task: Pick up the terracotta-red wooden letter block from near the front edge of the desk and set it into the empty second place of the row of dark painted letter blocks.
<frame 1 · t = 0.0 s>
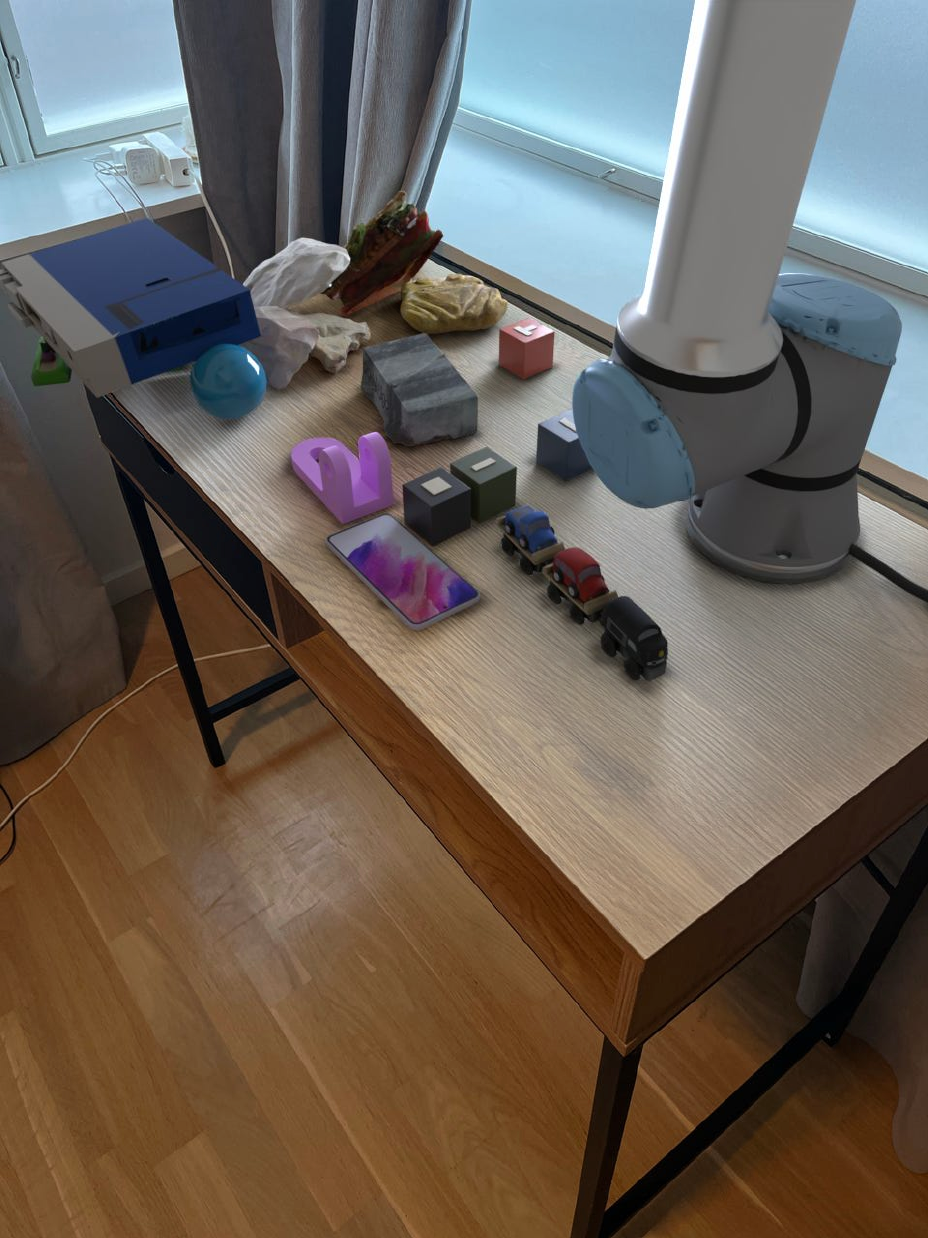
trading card: (325, 279, 130), on the table
block 3: (483, 503, 93), on the table
sandwich: (401, 281, 123), point 3 cm above the table, touching fragment
ball: (196, 401, 104), point 2 cm above the table, touching electronic device
electronic device: (170, 345, 98), point 9 cm above the table, touching ball, toy garden set
bracket: (337, 483, 96), on the table
stone: (333, 348, 116), on the table, touching fragment, stone tool
sculpture: (462, 325, 116), point 2 cm above the table
block 4: (437, 525, 91), on the table
stone block: (414, 414, 106), on the table
block 1: (566, 463, 98), on the table
stone tool: (307, 360, 108), point 3 cm above the table, touching stone, toy garden set
toy train: (573, 605, 83), on the table
letter block: (525, 365, 113), on the table
toy garden set: (140, 339, 119), on the table, touching electronic device, stone tool
fragment: (304, 292, 121), point 3 cm above the table, touching sandwich, stone
smartphone: (400, 574, 86), on the table
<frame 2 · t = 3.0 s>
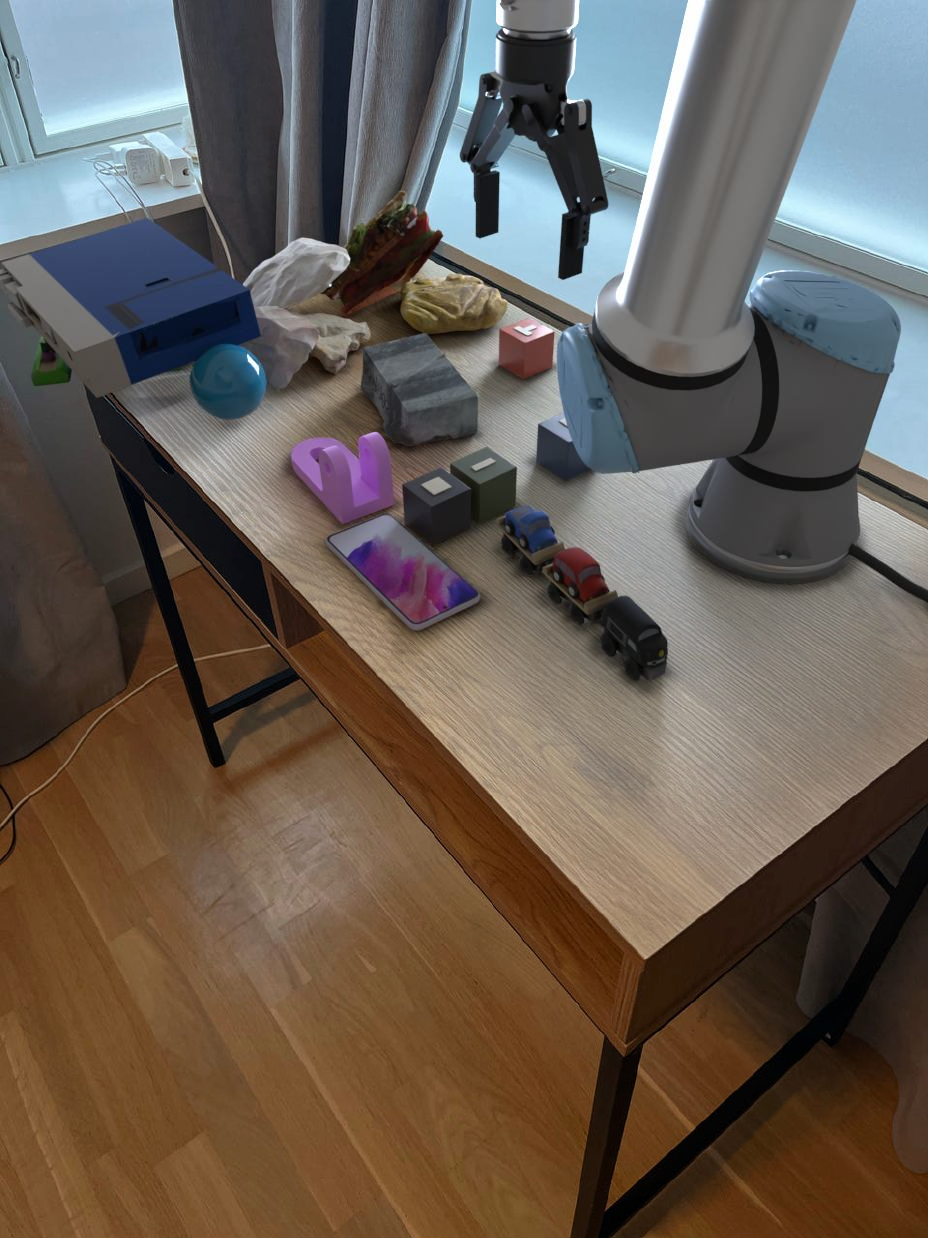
hand: (526, 254, 104), 13 cm above the table, tool pointing down, fingers open, 13 cm apart
stone tool: (307, 360, 108), point 3 cm above the table, touching stone
toy garden set: (140, 339, 119), on the table, touching electronic device
everything else where it was.
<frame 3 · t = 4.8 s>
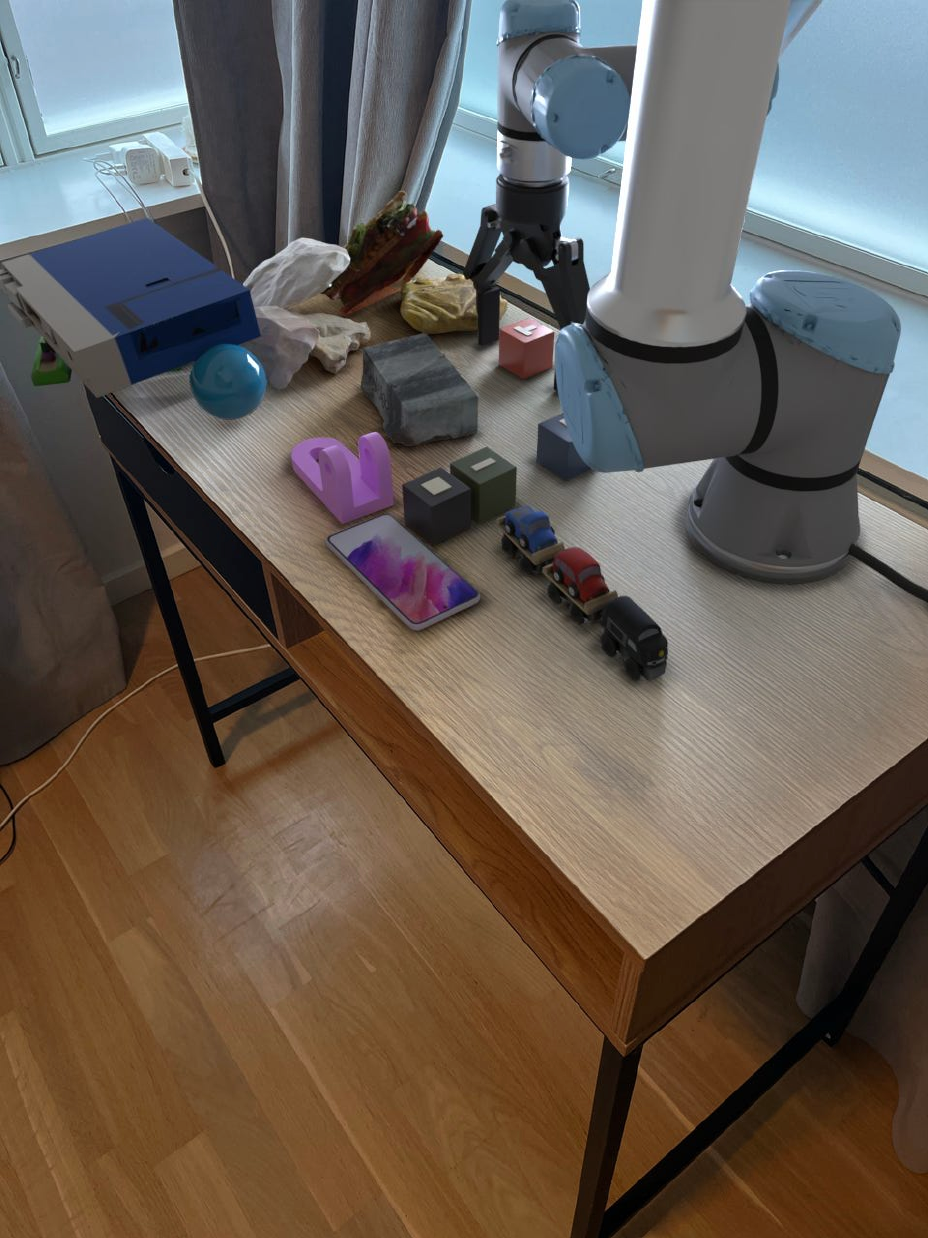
hand: (525, 363, 113), 0 cm above the table, tool pointing down, fingers open, 13 cm apart
stone tool: (307, 360, 108), point 3 cm above the table, touching stone, toy garden set
toy garden set: (140, 339, 119), on the table, touching electronic device, stone tool
everything else where it was.
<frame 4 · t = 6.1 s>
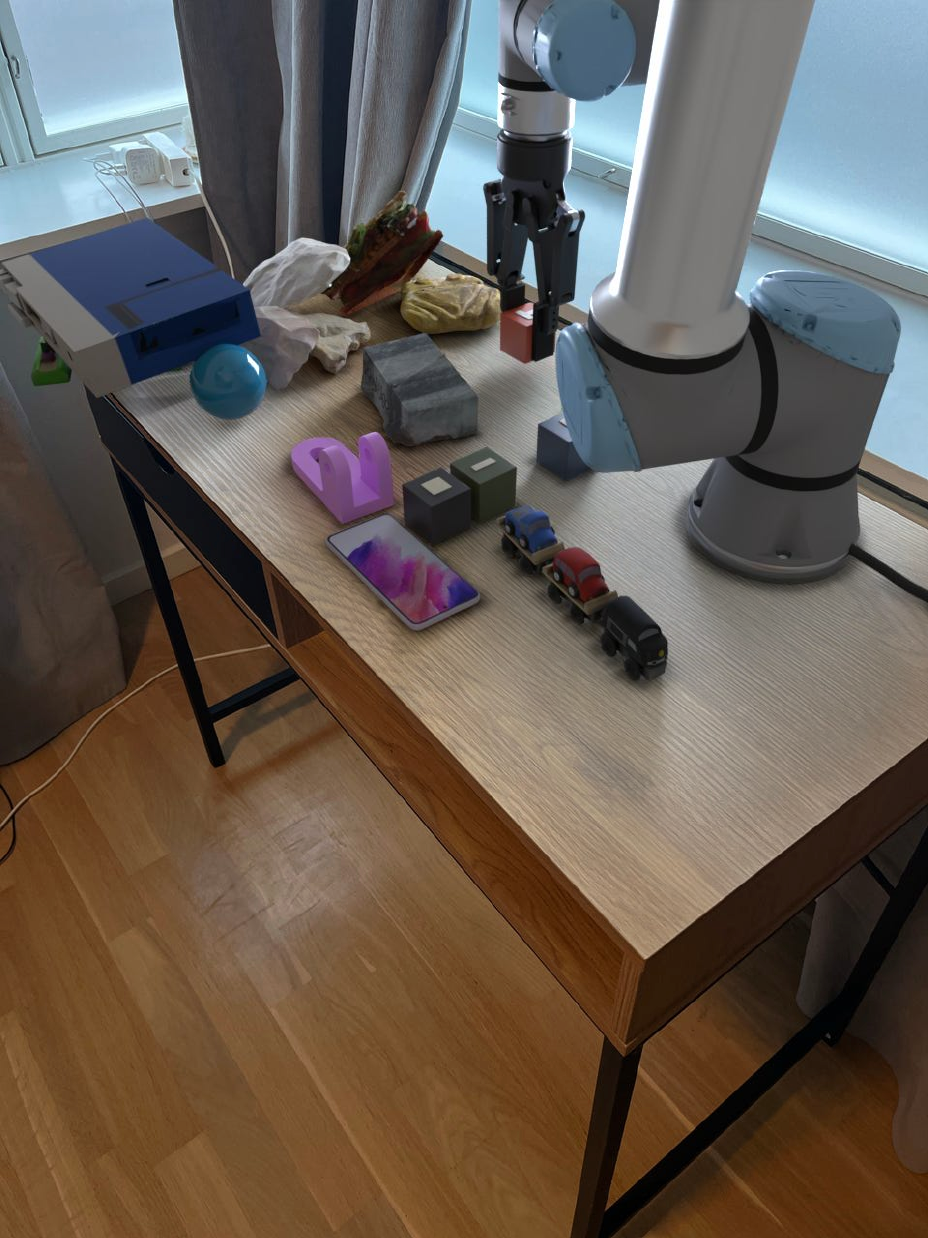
hand: (527, 348, 111), 2 cm above the table, tool pointing down, fingers closed on letter block, 4 cm apart
letter block: (527, 351, 111), point 2 cm above the table, touching gripper
everything else where it was.
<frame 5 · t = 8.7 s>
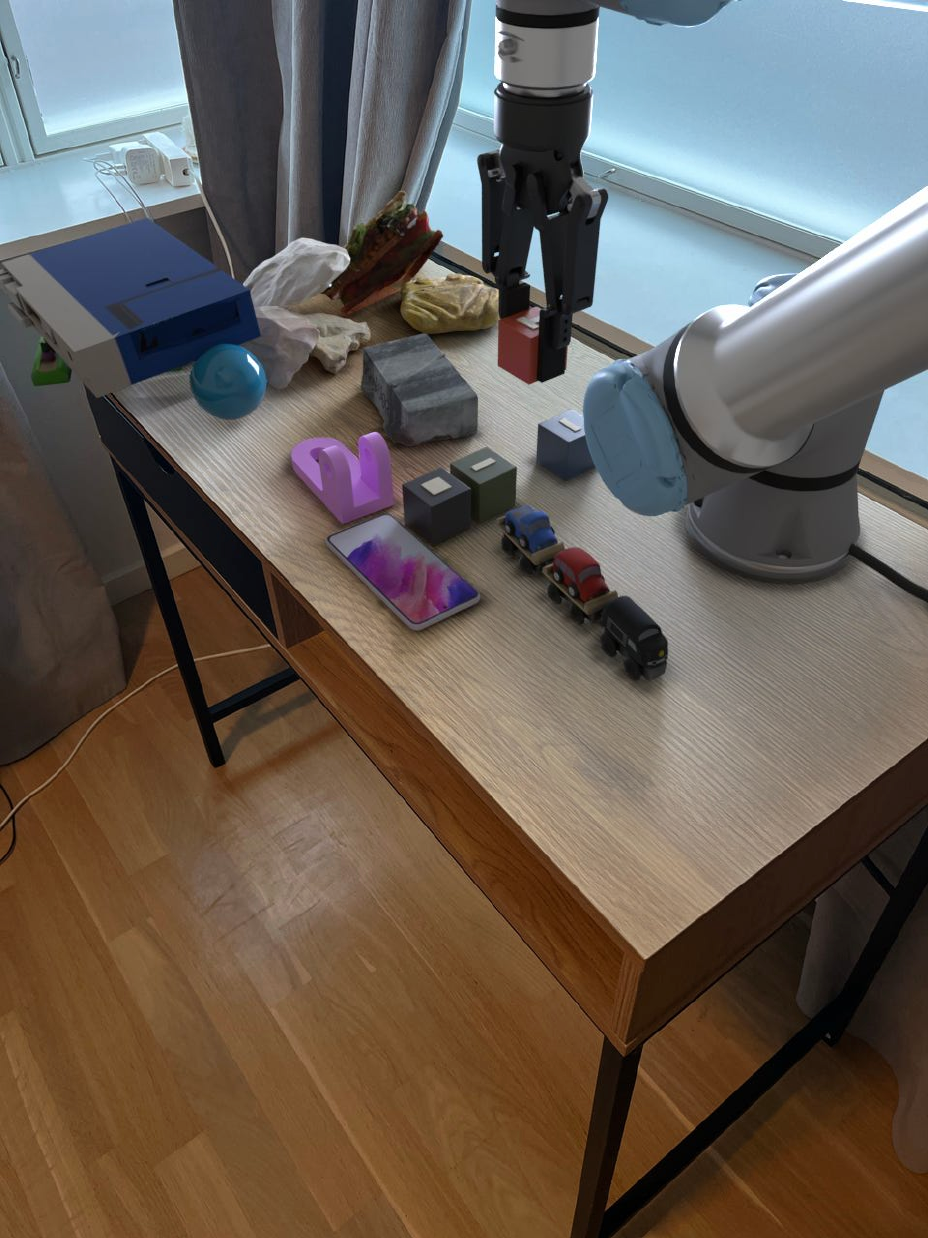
hand: (531, 365, 88), 12 cm above the table, tool pointing down, fingers closed on letter block, 4 cm apart
letter block: (531, 367, 89), point 12 cm above the table, touching gripper
everything else where it was.
when the fingers open (0 cm above the table, at t = 11.5 s): letter block stays where it is, on the table.
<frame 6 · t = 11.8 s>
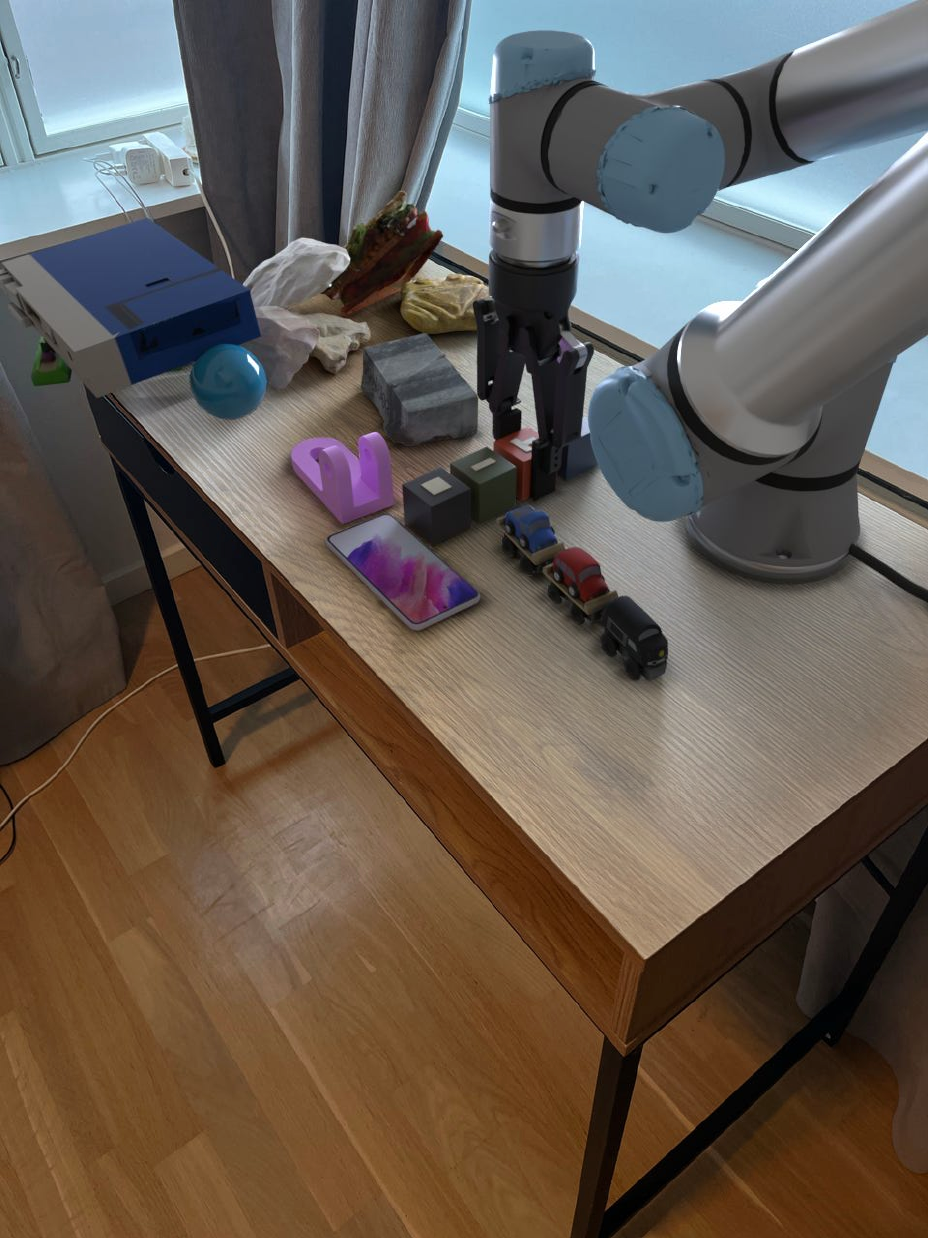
hand: (524, 481, 96), 0 cm above the table, tool pointing down, fingers open, 5 cm apart
letter block: (524, 482, 96), on the table
everything else where it was.
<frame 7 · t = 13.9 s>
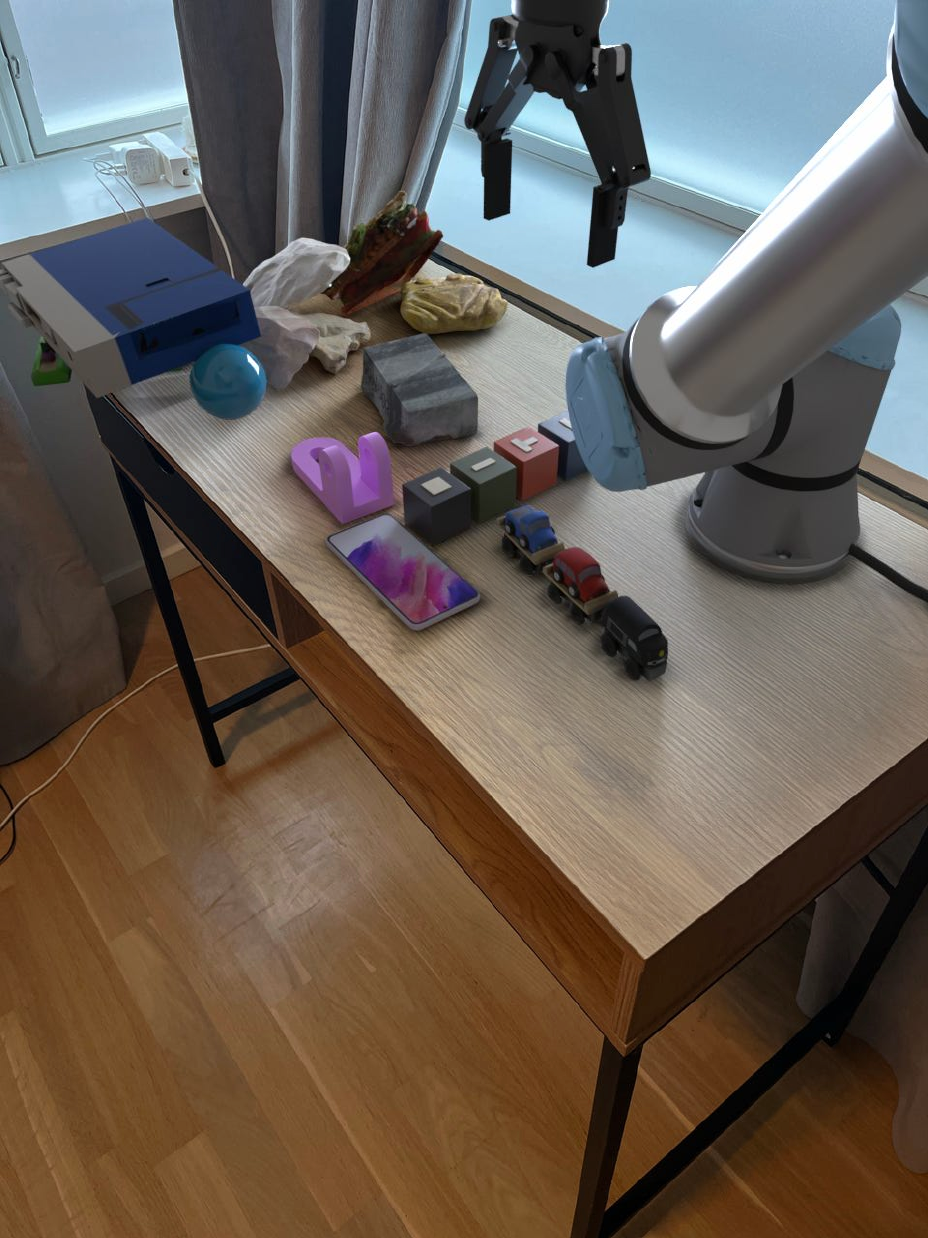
hand: (546, 238, 87), 21 cm above the table, tool pointing down, fingers open, 13 cm apart
nothing on the table moved.
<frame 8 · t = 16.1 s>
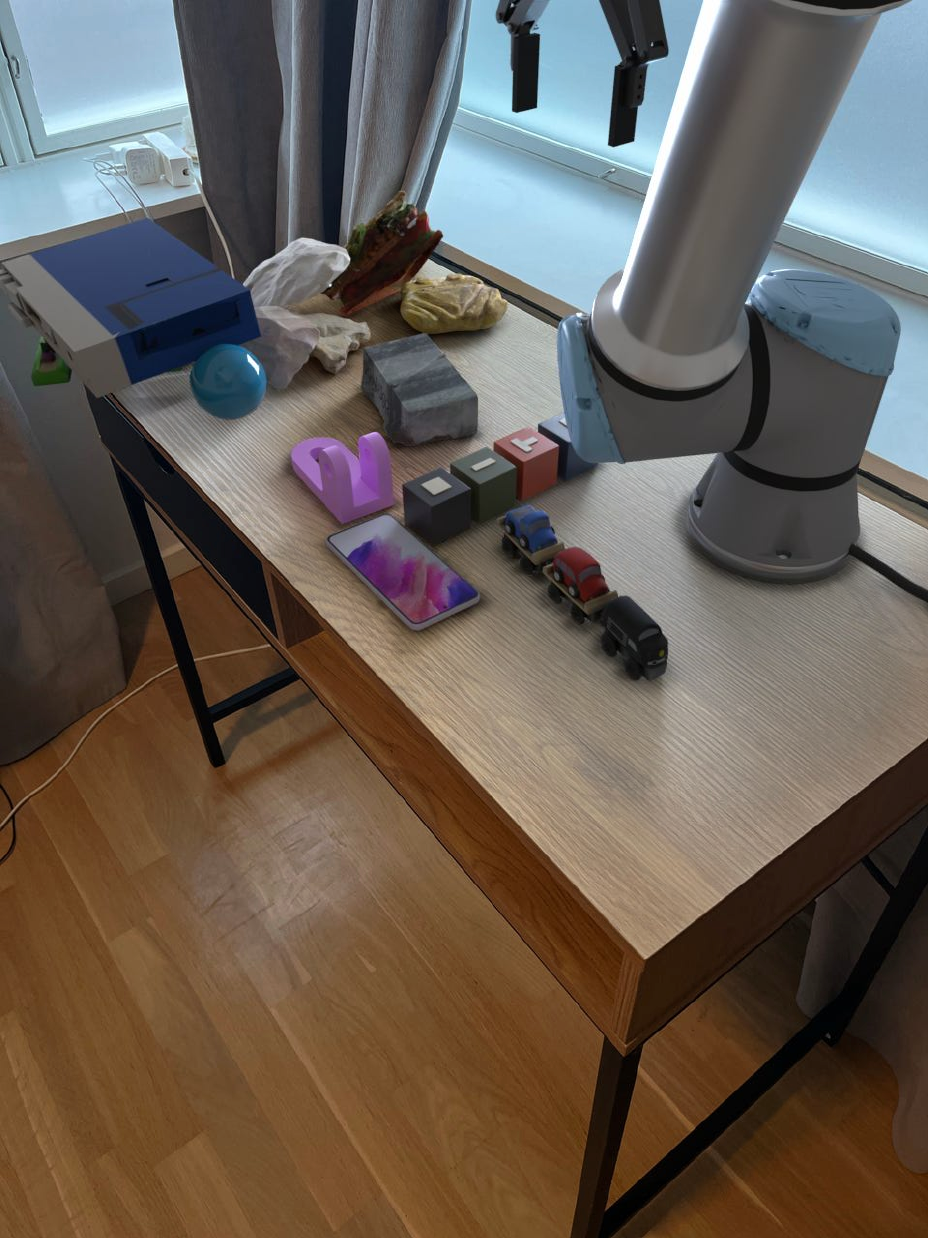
hand: (570, 126, 93), 27 cm above the table, tool pointing down, fingers open, 13 cm apart
nothing on the table moved.
at the end: letter block 0.2 cm from the target spot on the table beside the block 3, on the table; letter block tilted 0°; block 4 moved 0.0 cm from its start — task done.
